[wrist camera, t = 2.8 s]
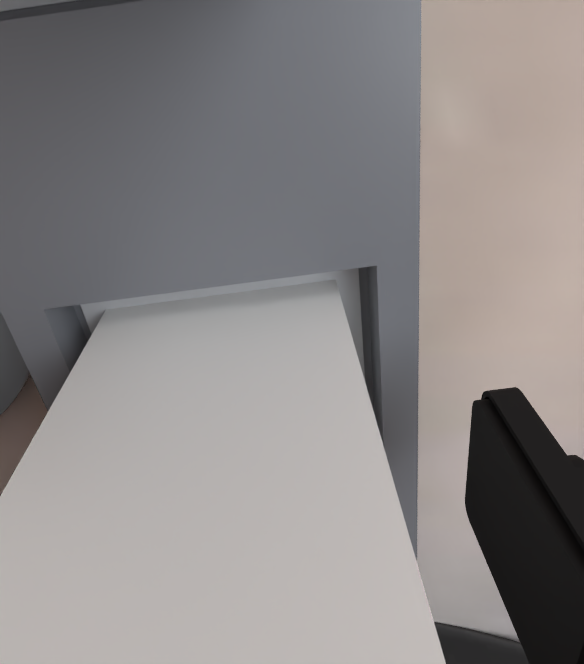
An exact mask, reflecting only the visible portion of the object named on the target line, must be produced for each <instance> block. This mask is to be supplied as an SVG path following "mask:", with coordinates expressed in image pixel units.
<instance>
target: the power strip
mask: <svg viewBox="0 0 584 664" xmlns="http://www.w3.org/2000/svg"><path fill="white" fill-rule="evenodd" d="M420 89H421V0H0V311H1V313H2V315H3V317H4V319H5V322H6V324H7V326H8V328H9V330H10V332H11V334H12V336H13V338H14V341H15V343H16V345H17V347H18V349H19V351H20V353H21V355H22V357H23V360H24V362H25V364H26V366H27V368H28V370H29V372H30V374H31V376H32V379H33V381H34V383H35V385H36V387H37V389H38V391H39V393H40V395H41V398H42V400H43V402H44V404H45V406H46V408H47V410H48V411H49V409H50V407H51V406H52V404H53V402H54V400H55V399H56V397H57V395H58V393H59V392H60V390H61V388H62V386H63V385H64V383H65V381H66V379H67V377H68V376H69V374H70V372H71V370H72V369H73V367H74V365H75V363H76V362H77V360H78V358H79V356H80V355H81V353H82V351H83V349H84V347H85V346H86V344H87V342H88V340H89V339H90V337H91V335H92V333H93V332H94V330H95V328H96V326H97V325H98V323H99V321H100V319H101V317H102V316H103V314H104V312H105V310H106V309H114V308H122V307H129V306H137V305H145V304H152V303H160V302H167V301H175V300H183V299H190V298H198V297H206V296H213V295H221V294H229V293H236V292H244V291H252V290H259V289H267V288H275V287H282V286H290V285H298V284H305V283H313V282H321V281H328V280H336V282H337V286H338V289H339V293H340V296H341V300H342V303H343V307H344V310H345V314H346V317H347V321H348V324H349V328H350V331H351V335H352V338H353V342H354V345H355V349H356V352H357V356H358V359H359V362H360V366H361V369H362V373H363V376H364V380H365V383H366V387H367V390H368V394H369V397H370V401H371V404H372V408H373V411H374V415H375V418H376V422H377V425H378V429H379V432H380V436H381V439H382V443H383V446H384V450H385V453H386V457H387V460H388V464H389V467H390V470H391V474H392V477H393V481H394V484H395V488H396V491H397V495H398V498H399V502H400V505H401V509H402V512H403V516H404V519H405V523H406V526H407V530H408V533H409V537H410V540H411V544H412V547H413V551H414V554H415V558H416V561H417V479H418V349H419V219H420Z"/></svg>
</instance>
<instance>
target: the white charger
mask: <svg viewBox="0 0 584 664" xmlns="http://www.w3.org/2000/svg"><path fill="white" fill-rule="evenodd" d="M0 664H446V662H445V659H444V655H443V652H442V648H441V645H440V641H439V638H438V634H437V631H436V627H435V624H434V620H433V617H432V613H431V610H430V606H429V603H428V599H427V596H426V592H425V589H424V585H423V582H422V578H421V575H420V571H419V568H418V565H417V561H416V558H415V554H414V551H413V547H412V544H411V540H410V537H409V533H408V530H407V526H406V523H405V519H404V516H403V512H402V509H401V505H400V502H399V498H398V495H397V491H396V488H395V484H394V481H393V477H392V474H391V470H390V467H389V464H388V460H387V457H386V453H385V450H384V446H383V443H382V439H381V436H380V432H379V429H378V425H377V422H376V418H375V415H374V411H373V408H372V404H371V401H370V397H369V394H368V390H367V387H366V383H365V380H364V376H363V373H362V369H361V366H360V362H359V359H358V356H357V352H356V349H355V345H354V342H353V338H352V335H351V331H350V328H349V324H348V321H347V317H346V314H345V310H344V307H343V303H342V300H341V296H340V293H339V289H338V286H337V282H336V280H328V281H321V282H313V283H305V284H298V285H290V286H282V287H275V288H267V289H259V290H252V291H244V292H236V293H229V294H221V295H213V296H206V297H198V298H190V299H183V300H175V301H167V302H160V303H152V304H145V305H137V306H129V307H122V308H114V309H106V310H105V312H104V314H103V316H102V317H101V319H100V321H99V323H98V325H97V326H96V328H95V330H94V332H93V333H92V335H91V337H90V339H89V340H88V342H87V344H86V346H85V347H84V349H83V351H82V353H81V355H80V356H79V358H78V360H77V362H76V363H75V365H74V367H73V369H72V370H71V372H70V374H69V376H68V377H67V379H66V381H65V383H64V385H63V386H62V388H61V390H60V392H59V393H58V395H57V397H56V399H55V400H54V402H53V404H52V406H51V407H50V409H49V411H48V413H47V415H46V416H45V418H44V420H43V422H42V423H41V425H40V427H39V429H38V430H37V432H36V434H35V436H34V437H33V439H32V441H31V443H30V445H29V446H28V448H27V450H26V452H25V453H24V455H23V457H22V459H21V460H20V462H19V464H18V466H17V467H16V469H15V471H14V473H13V475H12V476H11V478H10V480H9V482H8V483H7V485H6V487H5V489H4V490H3V492H2V494H1V496H0Z"/></svg>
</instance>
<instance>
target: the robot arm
mask: <svg viewBox="0 0 584 664" xmlns="http://www.w3.org/2000/svg"><path fill="white" fill-rule="evenodd" d="M465 506H466V511H467V515H468V518H469V521H470V524H471V526H472V528H473V531H474V533H475V535H476V538H477V540H478V543H479V545H480V547H481V550H482V552H483V555H484V557H485V559H486V562H487V564H488V566H489V569H490V571H491V574H492V576H493V578H494V581H495V583H496V586H497V588H498V590H499V593H500V595H501V597H502V600H503V602H504V605H505V607H506V609H507V612H508V614H509V617H510V619H511V621H512V624H513V626H514V628H515V631H516V633H517V636H518V638H519V640H520V643H521V645H522V648H523V650H524V652H525V655H526V657H527V659H528V662H529V664H584V460H583V459H582V458H580V457H578V456H576V455H568V456H567V455H566V453H565V452H564V450H563V449H562V448H561V446H560V445H559V443H558V442H557V441H556V439H555V438H554V436H553V435H552V434H551V432H550V431H549V429H548V428H547V427H546V425H545V424H544V422H543V421H542V420H541V418H540V417H539V415H538V414H537V413H536V411H535V410H534V408H533V407H532V406H531V404H530V403H529V401H528V400H527V399H526V397H525V396H524V394H523V393H522V392H521V391H520V390H519V389H518V388H516V387H514V388H506V389H498V390H490V391H485V392H483V394H482V398H481V400H475V401H474V402H473V406H472V417H471V430H470V443H469V456H468V468H467V481H466V494H465Z"/></svg>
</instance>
